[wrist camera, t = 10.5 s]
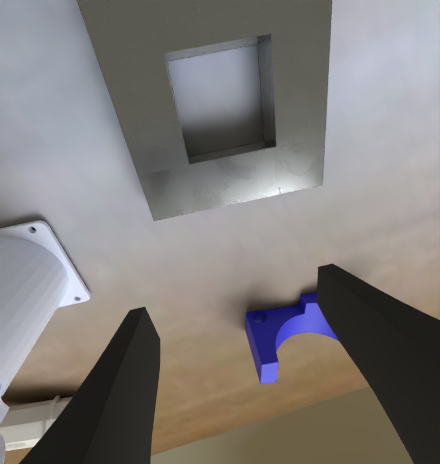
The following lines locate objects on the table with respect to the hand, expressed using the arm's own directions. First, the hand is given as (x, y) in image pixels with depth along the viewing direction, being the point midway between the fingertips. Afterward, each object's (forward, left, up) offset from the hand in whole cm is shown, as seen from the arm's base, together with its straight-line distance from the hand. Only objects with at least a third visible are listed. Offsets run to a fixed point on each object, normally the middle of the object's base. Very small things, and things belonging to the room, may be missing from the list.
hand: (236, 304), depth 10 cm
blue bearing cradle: (+7, -14, -11) cm, 19 cm away
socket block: (+2, +7, -10) cm, 13 cm away
